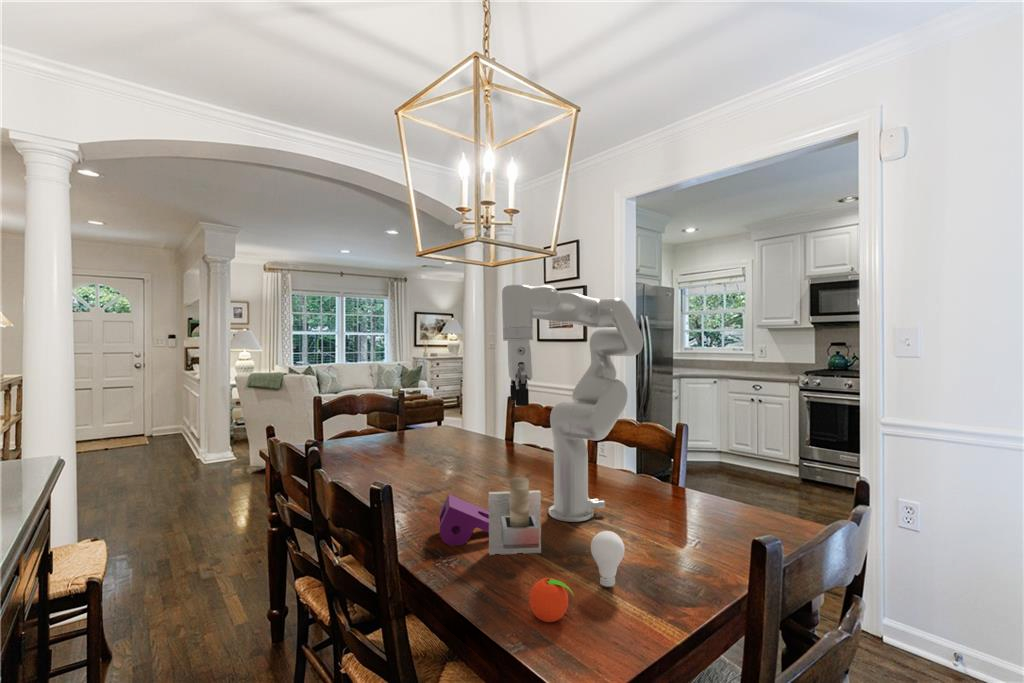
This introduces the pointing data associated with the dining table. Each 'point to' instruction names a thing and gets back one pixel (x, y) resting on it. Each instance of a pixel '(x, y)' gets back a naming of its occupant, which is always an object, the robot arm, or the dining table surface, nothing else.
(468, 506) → the mounting bracket
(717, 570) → the dining table surface
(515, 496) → the maple peg
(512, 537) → the cup bracket
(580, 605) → the dining table surface
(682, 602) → the dining table surface
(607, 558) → the light bulb
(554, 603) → the clementine
